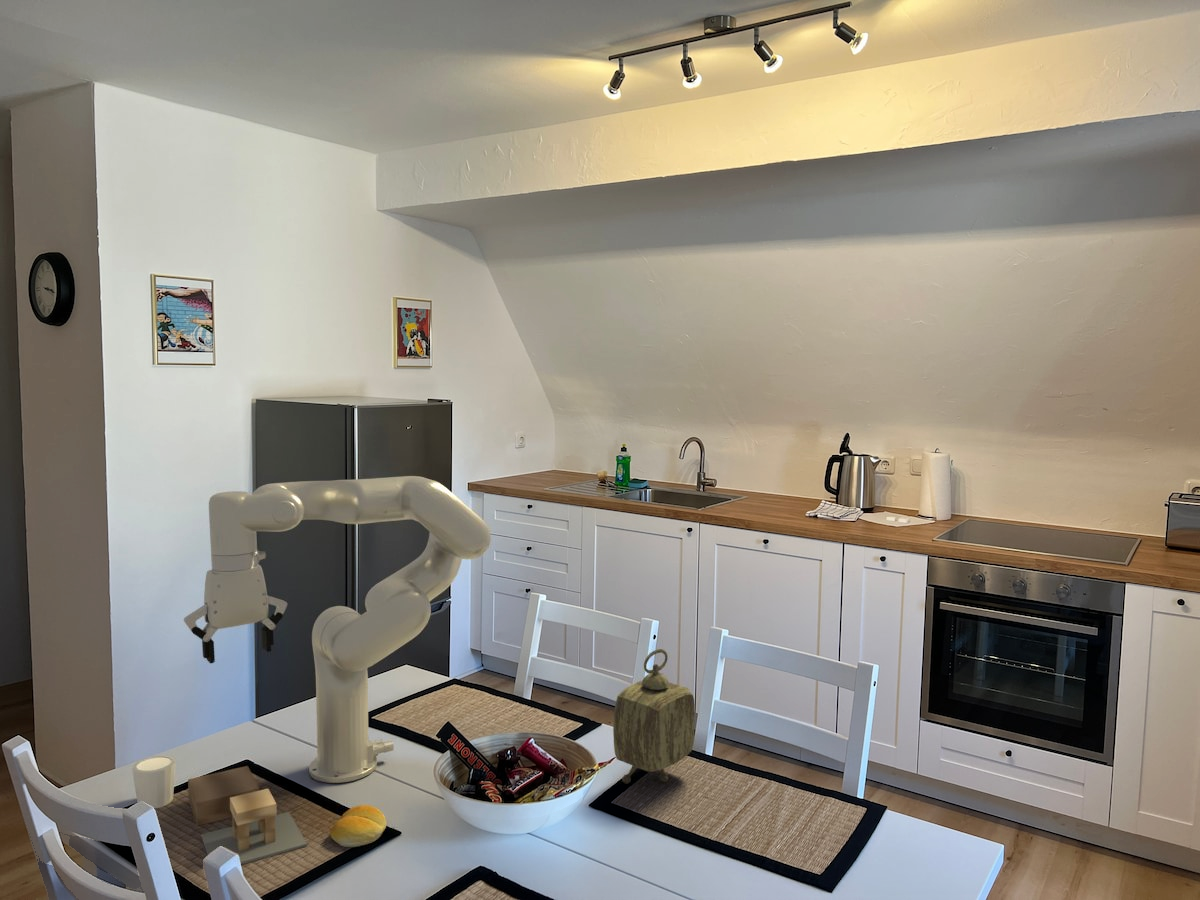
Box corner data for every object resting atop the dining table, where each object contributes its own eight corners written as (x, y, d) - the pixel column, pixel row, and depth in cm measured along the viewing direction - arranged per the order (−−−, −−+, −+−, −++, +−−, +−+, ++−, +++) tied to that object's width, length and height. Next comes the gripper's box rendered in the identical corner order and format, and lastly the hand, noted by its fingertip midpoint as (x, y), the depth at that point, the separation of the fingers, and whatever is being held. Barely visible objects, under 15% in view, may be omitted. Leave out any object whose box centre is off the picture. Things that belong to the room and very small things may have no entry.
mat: (289, 813, 150) (288, 811, 150) (307, 846, 140) (306, 843, 140) (201, 836, 142) (201, 834, 142) (213, 872, 132) (213, 870, 132)
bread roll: (322, 846, 140) (322, 823, 140) (349, 818, 149) (348, 796, 149) (370, 852, 139) (369, 828, 138) (394, 824, 147) (393, 801, 147)
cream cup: (159, 813, 150) (157, 774, 149) (124, 808, 151) (123, 770, 151) (185, 794, 157) (184, 756, 156) (152, 790, 158) (150, 753, 157)
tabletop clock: (659, 758, 173) (661, 636, 170) (696, 773, 167) (699, 646, 164) (612, 784, 162) (614, 654, 160) (650, 800, 156) (652, 665, 154)
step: (248, 786, 160) (247, 765, 159) (259, 810, 151) (259, 788, 151) (188, 800, 154) (188, 779, 154) (197, 825, 146) (196, 803, 145)
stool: (269, 825, 145) (268, 788, 145) (277, 841, 140) (276, 803, 140) (230, 835, 142) (229, 797, 141) (238, 852, 137) (236, 813, 136)
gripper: (278, 551, 161) (281, 640, 163) (176, 564, 151) (182, 660, 152) (290, 558, 155) (294, 651, 157) (186, 573, 145) (191, 672, 147)
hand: (239, 655), depth 155 cm, fingers open, 9 cm apart
